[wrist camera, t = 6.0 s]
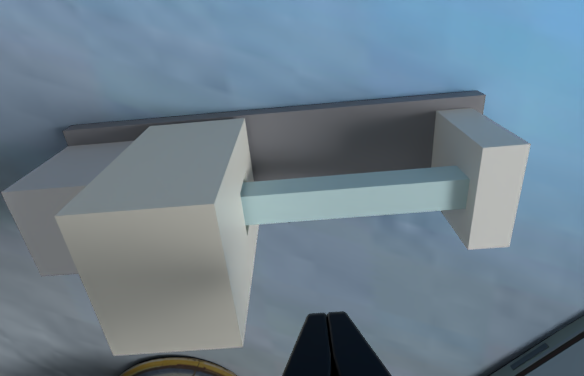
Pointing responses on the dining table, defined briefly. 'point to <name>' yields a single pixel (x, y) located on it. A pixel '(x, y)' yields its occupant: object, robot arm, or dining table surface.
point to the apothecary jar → (176, 368)
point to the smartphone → (552, 355)
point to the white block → (168, 240)
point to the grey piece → (317, 168)
